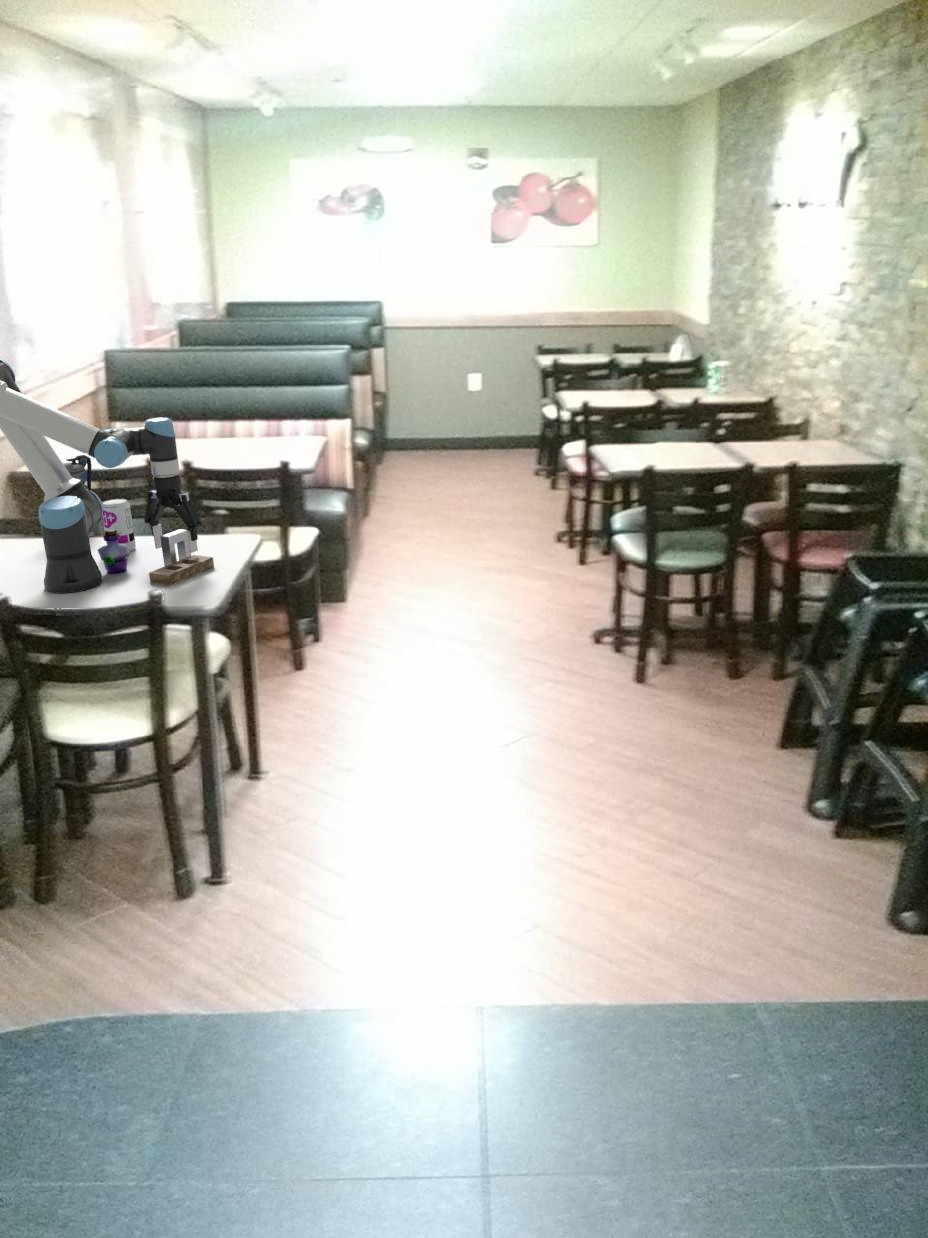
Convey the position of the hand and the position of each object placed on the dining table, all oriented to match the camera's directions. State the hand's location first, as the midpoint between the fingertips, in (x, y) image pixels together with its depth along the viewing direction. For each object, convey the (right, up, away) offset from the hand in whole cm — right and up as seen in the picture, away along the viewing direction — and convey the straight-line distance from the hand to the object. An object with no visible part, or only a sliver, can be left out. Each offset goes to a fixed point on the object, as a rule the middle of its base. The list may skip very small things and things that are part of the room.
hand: (176, 549), depth 325 cm
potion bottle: (-16, -6, -1) cm, 18 cm away
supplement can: (-21, +1, +20) cm, 29 cm away
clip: (0, -4, +2) cm, 5 cm away
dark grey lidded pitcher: (-41, +8, +42) cm, 60 cm away
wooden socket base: (+4, -8, -8) cm, 12 cm away
